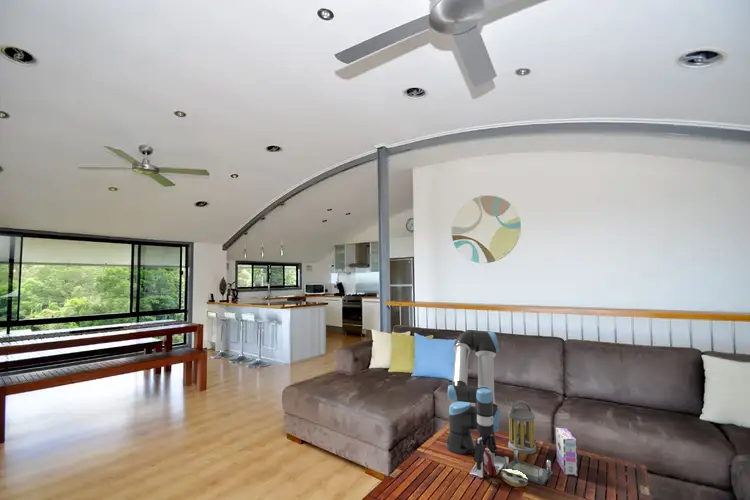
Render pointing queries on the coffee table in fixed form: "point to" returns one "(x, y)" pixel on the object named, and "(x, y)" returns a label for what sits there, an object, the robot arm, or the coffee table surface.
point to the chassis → (529, 469)
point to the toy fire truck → (488, 465)
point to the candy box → (566, 451)
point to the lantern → (521, 429)
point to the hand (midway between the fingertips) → (486, 471)
